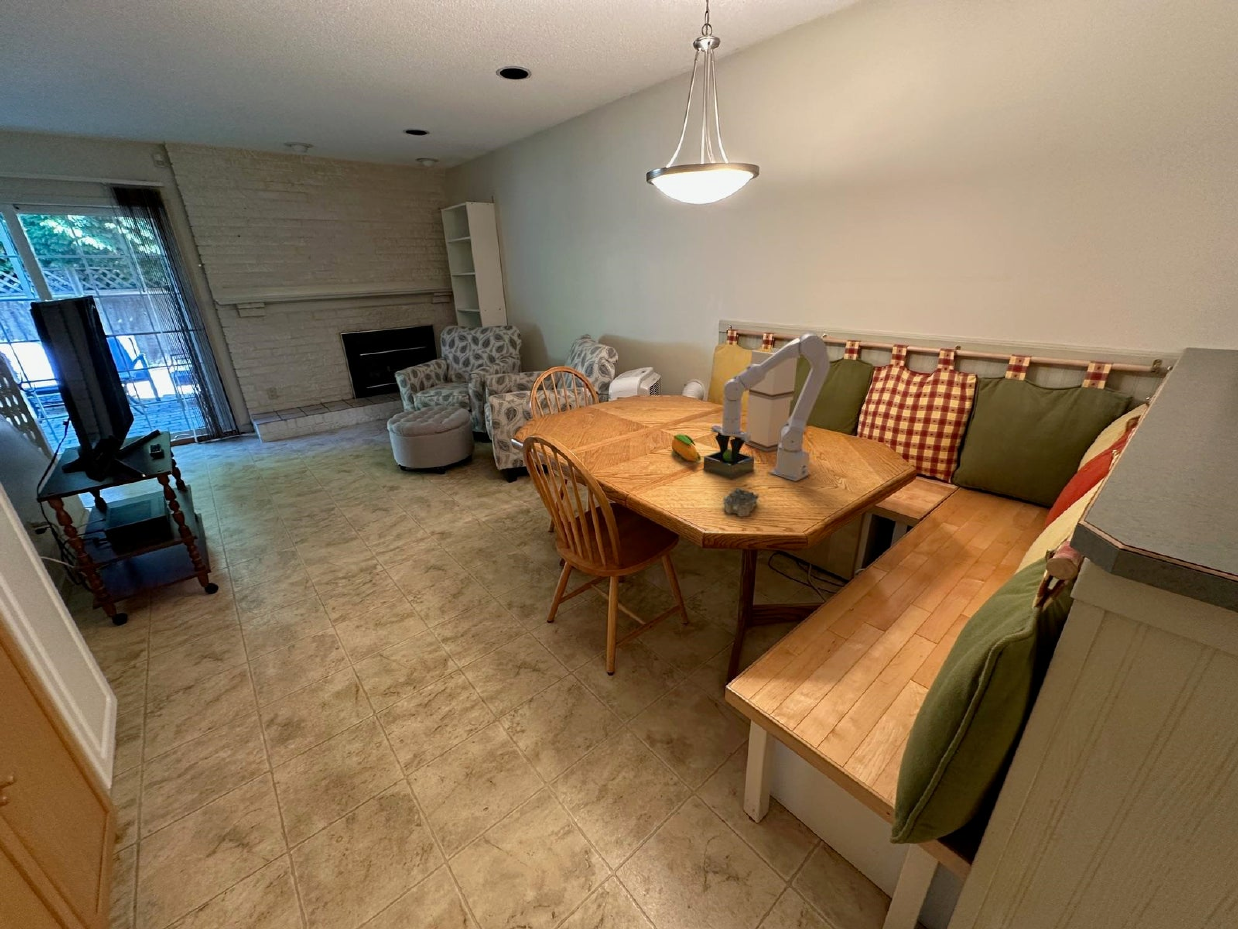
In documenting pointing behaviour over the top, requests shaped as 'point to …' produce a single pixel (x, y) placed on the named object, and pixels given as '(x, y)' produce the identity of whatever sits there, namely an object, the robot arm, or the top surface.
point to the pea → (728, 455)
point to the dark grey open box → (728, 465)
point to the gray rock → (740, 502)
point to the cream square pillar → (770, 402)
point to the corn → (685, 448)
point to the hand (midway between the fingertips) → (729, 457)
